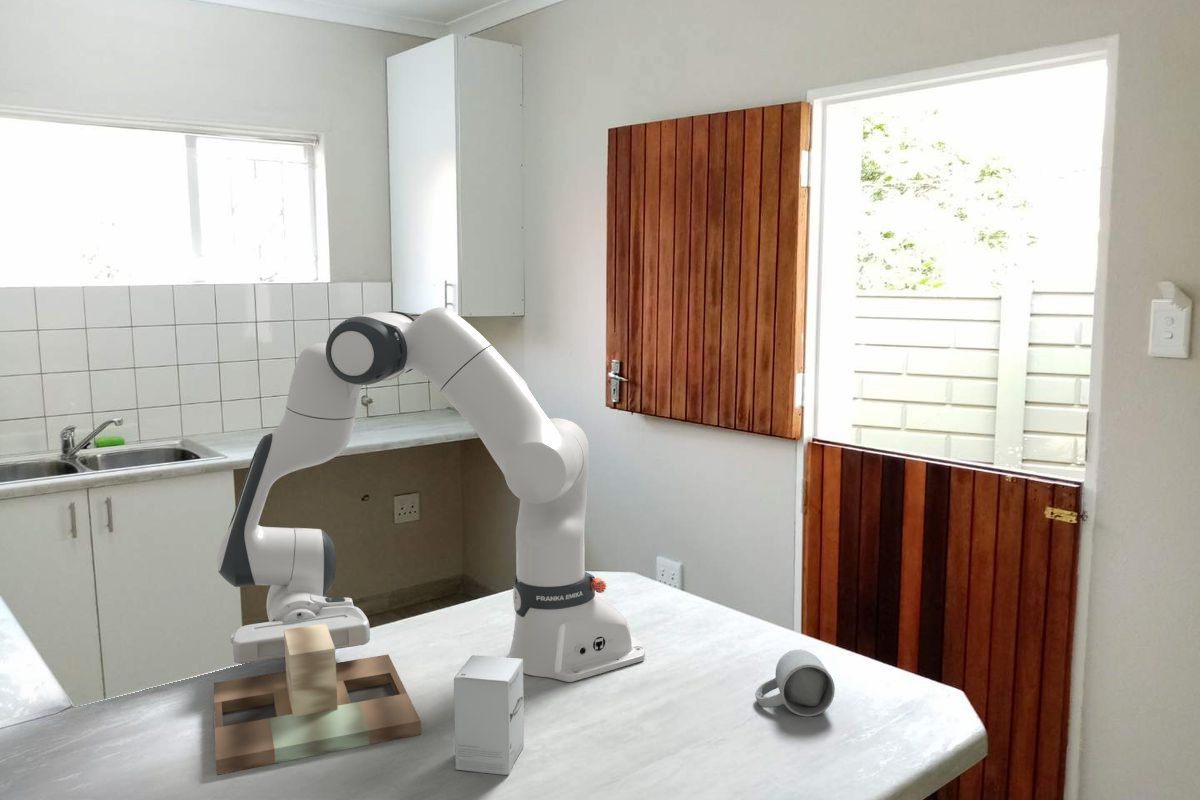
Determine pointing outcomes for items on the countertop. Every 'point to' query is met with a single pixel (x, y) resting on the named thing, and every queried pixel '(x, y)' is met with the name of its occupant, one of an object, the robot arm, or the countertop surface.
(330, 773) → the countertop surface
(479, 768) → the supplement box
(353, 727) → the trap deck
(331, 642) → the birch block
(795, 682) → the ceramic mug
